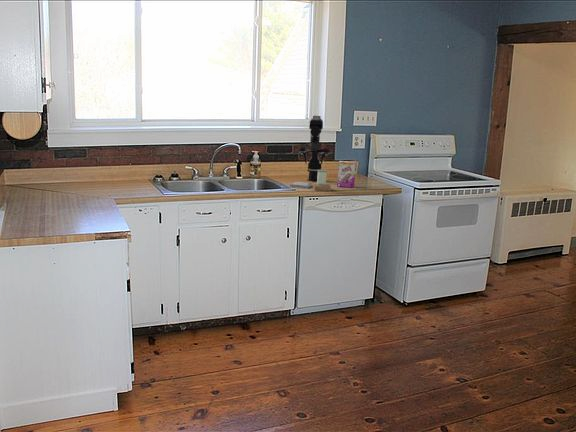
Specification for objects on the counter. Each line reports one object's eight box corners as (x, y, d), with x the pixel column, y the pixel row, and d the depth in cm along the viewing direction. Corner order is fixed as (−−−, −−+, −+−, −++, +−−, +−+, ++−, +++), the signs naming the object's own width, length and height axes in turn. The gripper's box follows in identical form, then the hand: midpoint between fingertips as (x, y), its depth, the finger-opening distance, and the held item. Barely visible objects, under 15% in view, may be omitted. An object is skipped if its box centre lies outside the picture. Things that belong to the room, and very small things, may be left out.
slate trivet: (295, 183, 382) (296, 181, 381) (313, 185, 378) (313, 183, 378) (290, 186, 370) (290, 184, 370) (308, 188, 367) (308, 186, 366)
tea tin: (316, 183, 367) (317, 169, 365) (325, 183, 368) (325, 169, 366) (317, 184, 363) (318, 170, 361) (326, 185, 364) (326, 170, 362)
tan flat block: (312, 188, 368) (312, 183, 368) (328, 188, 369) (328, 183, 369) (314, 190, 360) (314, 185, 360) (330, 190, 362) (330, 186, 361)
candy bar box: (336, 186, 378) (338, 161, 374) (337, 185, 382) (338, 160, 379) (354, 187, 377) (356, 162, 373) (354, 186, 381) (356, 161, 378)
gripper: (299, 136, 354) (297, 162, 354) (330, 138, 353) (328, 163, 353) (300, 139, 366) (298, 164, 365) (329, 141, 364) (328, 166, 364)
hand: (313, 164), depth 361 cm, fingers open, 9 cm apart
